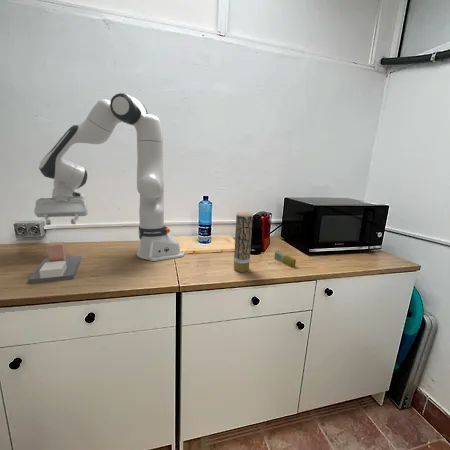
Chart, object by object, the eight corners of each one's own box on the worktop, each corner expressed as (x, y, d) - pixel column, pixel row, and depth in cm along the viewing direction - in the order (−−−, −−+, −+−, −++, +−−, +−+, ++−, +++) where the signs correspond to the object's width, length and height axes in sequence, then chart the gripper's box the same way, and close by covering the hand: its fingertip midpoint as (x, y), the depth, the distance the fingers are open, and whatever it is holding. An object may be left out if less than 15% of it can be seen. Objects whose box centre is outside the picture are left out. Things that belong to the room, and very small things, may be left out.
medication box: (274, 259, 131) (274, 251, 130) (278, 258, 132) (278, 250, 131) (291, 268, 121) (292, 260, 120) (295, 267, 122) (296, 259, 121)
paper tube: (248, 273, 112) (252, 215, 106) (232, 271, 113) (235, 214, 108) (249, 267, 119) (253, 212, 113) (234, 265, 120) (237, 211, 114)
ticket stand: (81, 258, 120) (80, 248, 119) (73, 278, 100) (72, 267, 99) (45, 261, 115) (44, 251, 114) (29, 283, 95) (27, 271, 94)
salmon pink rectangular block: (66, 262, 110) (64, 241, 108) (64, 265, 107) (62, 244, 105) (52, 263, 109) (50, 242, 107) (50, 267, 105) (47, 245, 103)
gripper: (34, 193, 115) (29, 220, 109) (86, 193, 122) (85, 219, 116) (38, 202, 120) (34, 228, 114) (88, 202, 128) (87, 226, 121)
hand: (60, 223), depth 115 cm, fingers open, 8 cm apart
